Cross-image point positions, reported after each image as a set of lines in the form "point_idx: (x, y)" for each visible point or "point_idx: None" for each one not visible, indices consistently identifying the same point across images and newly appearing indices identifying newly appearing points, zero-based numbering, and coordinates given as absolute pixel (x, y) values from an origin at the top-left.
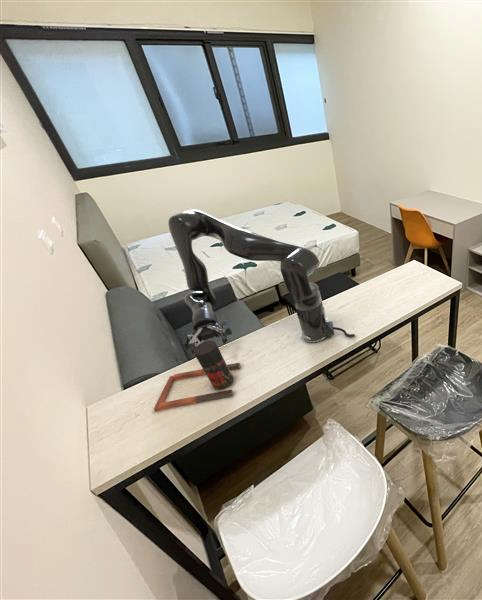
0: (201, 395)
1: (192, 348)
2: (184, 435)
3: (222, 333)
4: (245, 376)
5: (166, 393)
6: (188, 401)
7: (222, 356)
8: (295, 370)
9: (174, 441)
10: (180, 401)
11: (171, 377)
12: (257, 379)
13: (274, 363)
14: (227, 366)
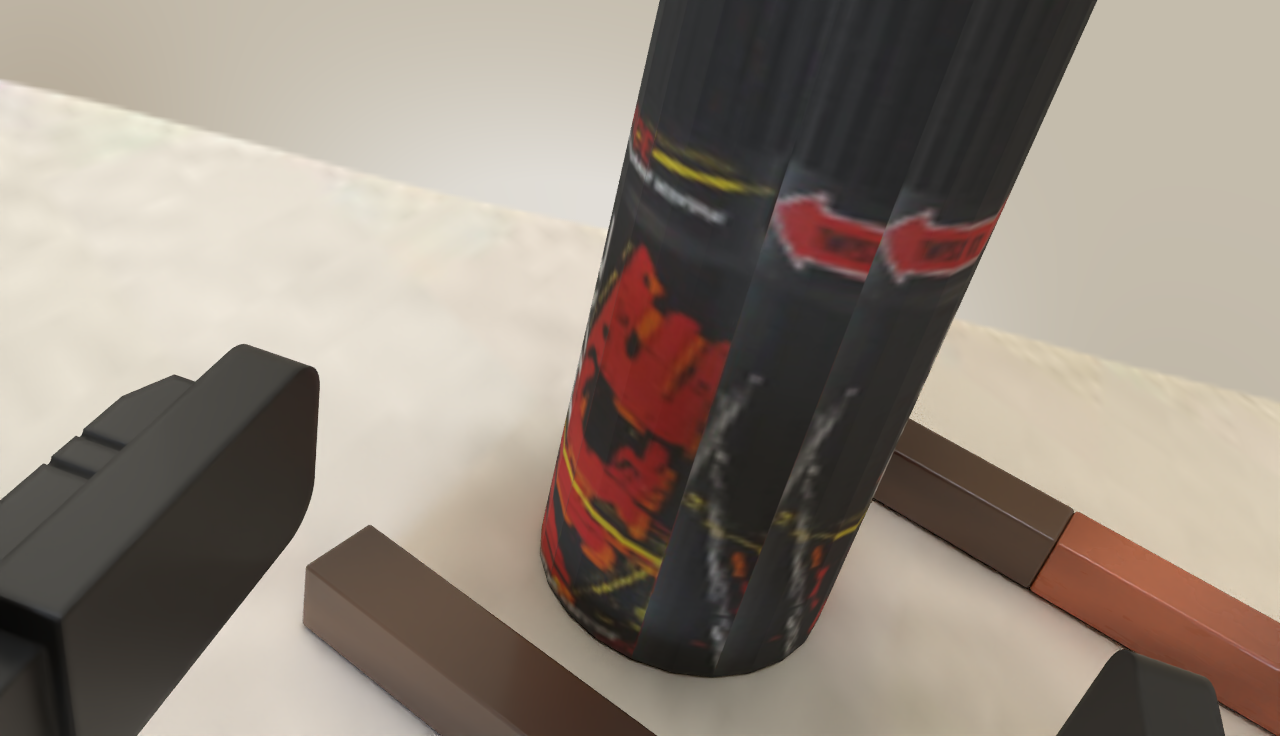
0: (998, 504)
1: (1215, 727)
2: (1161, 380)
3: (14, 552)
4: (421, 427)
5: None
6: (1156, 556)
7: (640, 91)
8: (51, 127)
9: (1238, 396)
10: (1261, 625)
11: None
12: (369, 307)
13: (28, 304)
14: (591, 313)
